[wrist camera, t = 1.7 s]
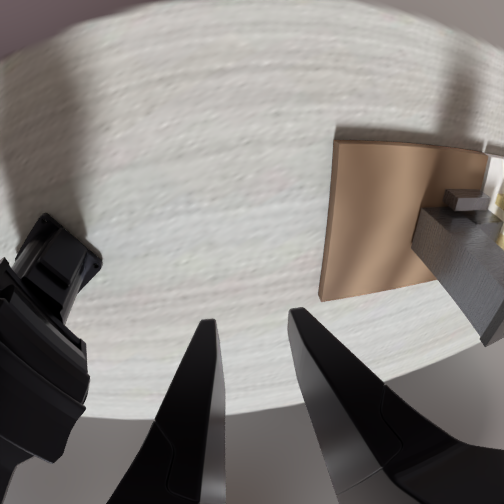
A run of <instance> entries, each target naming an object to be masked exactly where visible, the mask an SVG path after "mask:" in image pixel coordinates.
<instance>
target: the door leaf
mask: <svg viewBox="0 0 504 504" xmlns="http://www.w3.org/2000/svg"><path fill="white" fill-rule="evenodd" d="M487 161H488V155H486V154H484V153H483V152H479V151H473V150H466V149H459V148H451V147H443V146H434V145H425V144H414V143H401V142H386V141H364V140H334V143H333V160H332V174H331V187H330V198H329V209H328V219H327V229H326V238H325V246H324V255H323V262H322V270H321V278H320V285H319V292H318V296H319V298H320V300H321V302H325V301H331V300H337V299H343V298H348V297H354V296H360V295H365V294H370V293H376V292H381V291H386V290H391V289H396V288H401V287H406V286H410V285H415V284H420V283H424V282H429V281H433V280H437V278H436V277H435V276H434V275H433V274H432V272H431V271H430V270H429V269H428V268H427V266H426V265H425V264H424V263H423V262H422V261H421V259H420V258H419V257H418V256H417V255H416V254H415V253H414V251H413V250H412V249H411V246H412V242H413V239H414V235H415V231H416V228H417V224H418V220H419V216H420V212H421V208H427V207H448V205H447V204H445V203H444V202H443V197H444V193H445V189H479V190H481V187H482V183H483V178H484V174H485V170H486V165H487Z"/></svg>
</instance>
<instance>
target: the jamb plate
mask: <svg viewBox="0 0 504 504" xmlns="http://www.w3.org/2000/svg"><path fill="white" fill-rule="evenodd" d="M485 154H486V155H488V161H487V165H486V170H485V174H484V178H483V183H482V187H481V191H482V192H484V193H485V194H486V195H488V196H489V197H491V200H490V203H489V207H488V210H490V211H491V212H492V213H493V214H495V215H496V216H497V217H498V218H500V219H501V220H502V221H503V222H504V210H502V209H501V208H500V207H498V206H497V205H496V204H495V202H496V198H497V195H498V194H504V156H498V155H493V154H487V153H485ZM500 234H503V235H504V223H503V226H502V228H501V231H500Z"/></svg>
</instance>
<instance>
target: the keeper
mask: <svg viewBox="0 0 504 504" xmlns="http://www.w3.org/2000/svg"><path fill="white" fill-rule="evenodd" d="M495 204H496V205H497V206H498V207H500V208H501V209H502V210H504V194H498V195H497V198H496V202H495ZM496 244H497V245H498V246H500V247H501V248H502V249H503V250H504V235H503V234H499V237H498V239H497V242H496Z"/></svg>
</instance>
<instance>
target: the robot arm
mask: <svg viewBox="0 0 504 504" xmlns="http://www.w3.org/2000/svg"><path fill="white" fill-rule="evenodd" d="M44 219H46V221H47V222H45V221H44ZM94 263H96V264H98V265H95V264H94ZM102 265H103V263H102V261H101V260H100V259H99V258H98V257H97V256H96V255H94V254H93V253H92V252H91V251H90V250H88V249H87V248H86V247H85V246H84V245H83V244H81V243H80V242H79V241H78V240H77V239H76V238H74V237H73V236H72V235H71V234H70V233H69V232H68V231H66V230H65V229H64V228H63V227H62V226H61V225H60V224H59V223H57V222H56V221H55V220H54V219H53V218H52V217H51V216H50V215H49V214H47V213H44V214H42V215H41V216H40V218H39V219H38V221H37V222H36V224H35V225H34V227H33V229H32V230H31V232H30V234H29V235H28V237H27V239H26V240H25V242H24V244H23V245H22V247H21V249H20V251H19V252H18V254H17V256H16V258H15V263H14V265H13V266H12V268H11V267H10V266H9V262H8V261H7V260H6V258H5V257H4V258H2V259H1V260H0V504H3V502H4V500H5V496H6V494H7V491H8V488H9V485H10V482H11V480H12V477H13V474H14V472H15V470H16V468H17V466H18V465H20V464H22V463H24V462H26V461H28V460H30V459H32V458H33V457H38V458H40V459H42V460H44V461H46V462H48V463H50V464H53V463H54V462H56V461H57V460H58V459H59V458H60V457H61V456H62V455H63V453H64V449H65V446H66V443H67V439H68V437H69V434H70V432H71V430H72V428H73V426H74V424H75V423H76V421H77V420H78V418H79V417H80V416H81V415H82V414H83V413H84V411H85V410H86V407H85V406H84V405H83V404H84V402H85V400H86V397H87V394H88V389H89V383H90V376H89V374H88V370H87V353H86V343H85V342H84V341H83V340H82V339H79V338H78V337H77V336H76V335H75V334H73V333H72V332H71V331H70V330H69V329H68V328H67V327H66V326H65V324H66V321H67V318H68V316H69V313H70V310H71V308H72V305H73V303H74V300H75V298H76V295H77V294H78V293H79V292H80V290H81V289H82V288H83V287H84V286H85V285H86V284H87V283H88V282H89V281H90V280H91V279H92V278H93V277H94V276H95V275H96V274H97V273H98V272H99V271H100V269H101V268H102ZM288 336H289V341H290V346H291V351H292V356H293V361H294V366H295V371H296V376H297V380H298V383H299V387H300V390H301V392H302V395H303V398H304V401H305V404H306V407H307V410H308V413H309V416H310V419H311V422H312V425H313V428H314V431H315V434H316V437H317V440H318V443H319V445H320V448H321V451H322V454H323V457H324V460H325V463H326V466H327V469H328V472H329V475H330V478H331V481H332V484H333V487H334V490H335V493H336V495H337V499H338V502H339V504H504V450H501V449H493V448H486V447H480V446H474V445H470V444H467V443H464V442H462V441H459V440H458V439H456V438H454V437H452V436H451V435H449V434H448V433H447V432H445V431H444V430H442V429H441V428H440V427H438V426H437V425H435V424H434V423H432V422H431V421H430V420H428V419H427V418H425V417H424V416H423V415H421V414H420V413H419V412H417V411H416V410H415V409H414V408H412V407H411V406H409V405H408V404H407V403H406V402H405V401H404V400H403V399H402V398H400V397H399V396H398V395H397V394H396V393H395V392H394V391H393V390H391V389H390V388H389V387H388V386H387V385H384V382H383V381H382V380H381V379H380V378H379V377H377V376H376V375H375V374H374V373H373V372H372V371H371V370H370V369H369V368H368V367H367V366H366V365H365V364H364V363H362V362H361V361H360V360H359V359H358V358H357V357H356V356H355V355H354V354H353V353H352V352H351V351H350V350H349V349H348V348H346V347H345V346H344V345H343V344H342V343H341V342H340V341H339V340H338V339H337V338H336V337H335V336H334V335H333V334H332V333H331V332H329V331H328V330H327V329H326V328H325V327H324V326H323V325H322V324H321V323H320V322H319V321H318V320H317V319H316V318H315V317H313V316H312V315H311V314H310V313H309V312H308V311H307V310H306V309H305V308H303V307H299V308H292V309H290V310H289V314H288ZM106 504H226V473H225V382H224V374H223V366H222V357H221V348H220V340H219V334H218V329H217V323H216V320H215V319H203V320H201V321H200V323H199V325H198V327H197V329H196V331H195V333H194V335H193V337H192V339H191V342H190V344H189V346H188V348H187V350H186V352H185V354H184V356H183V359H182V361H181V363H180V365H179V367H178V369H177V371H176V374H175V376H174V378H173V380H172V382H171V384H170V386H169V389H168V391H167V393H166V395H165V397H164V399H163V402H162V404H161V406H160V408H159V410H158V413H157V415H156V417H155V421H154V422H153V423H152V425H151V428H150V430H149V432H148V434H147V436H146V438H145V440H144V442H143V444H142V446H141V448H140V450H139V452H138V454H137V455H136V457H135V459H134V460H133V462H132V464H131V466H130V467H129V469H128V471H127V472H126V474H125V475H124V477H123V478H122V480H121V481H120V483H119V485H118V486H117V488H116V489H115V491H114V493H113V494H112V496H111V497H110V499H109V500H108V502H107V503H106Z"/></svg>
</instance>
